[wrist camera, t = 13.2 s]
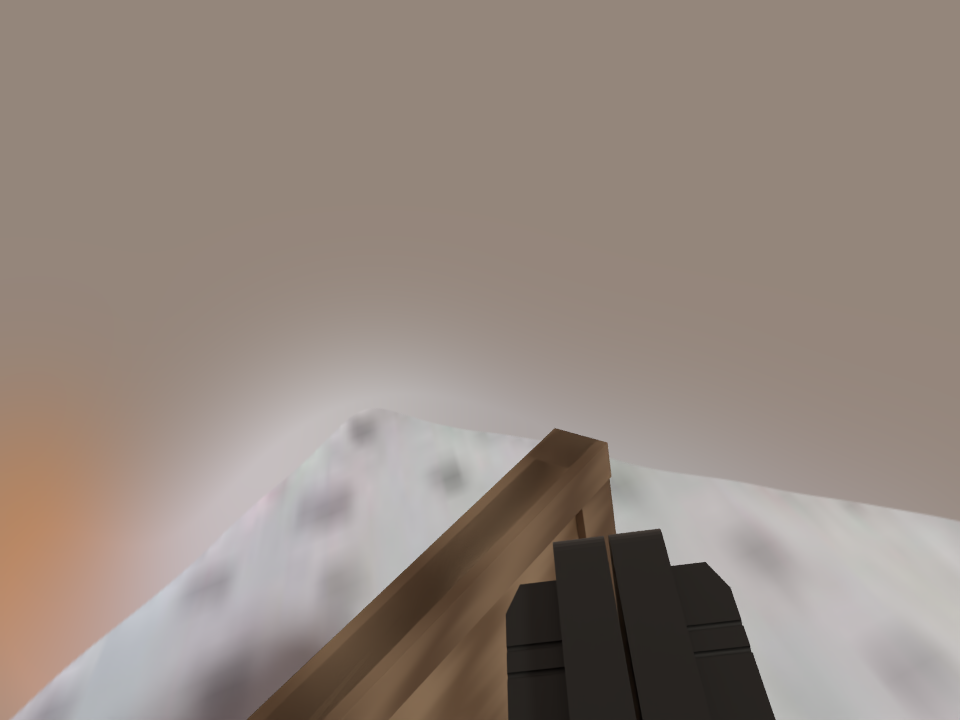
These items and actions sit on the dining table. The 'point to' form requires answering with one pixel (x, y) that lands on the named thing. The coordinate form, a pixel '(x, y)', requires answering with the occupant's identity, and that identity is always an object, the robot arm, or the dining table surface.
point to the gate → (458, 600)
